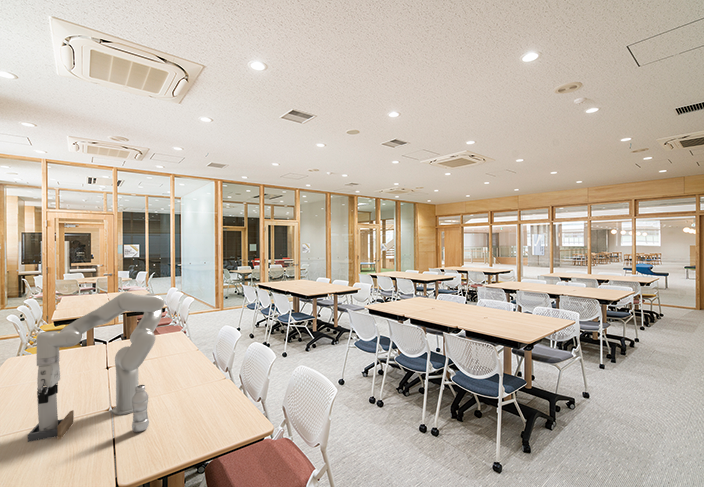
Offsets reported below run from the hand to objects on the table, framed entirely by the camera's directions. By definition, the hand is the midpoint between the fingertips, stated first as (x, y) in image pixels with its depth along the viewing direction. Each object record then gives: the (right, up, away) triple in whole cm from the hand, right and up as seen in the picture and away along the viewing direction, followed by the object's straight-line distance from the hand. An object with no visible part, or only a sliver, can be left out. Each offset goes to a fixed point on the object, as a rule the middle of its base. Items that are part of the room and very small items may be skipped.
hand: (48, 398), depth 147 cm
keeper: (0, -16, 0) cm, 16 cm away
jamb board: (+6, -16, +2) cm, 17 cm away
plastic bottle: (+40, -16, +2) cm, 43 cm away
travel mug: (0, -15, 0) cm, 15 cm away
